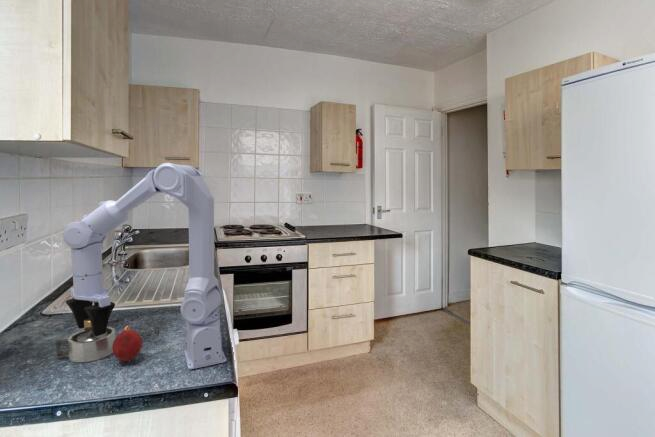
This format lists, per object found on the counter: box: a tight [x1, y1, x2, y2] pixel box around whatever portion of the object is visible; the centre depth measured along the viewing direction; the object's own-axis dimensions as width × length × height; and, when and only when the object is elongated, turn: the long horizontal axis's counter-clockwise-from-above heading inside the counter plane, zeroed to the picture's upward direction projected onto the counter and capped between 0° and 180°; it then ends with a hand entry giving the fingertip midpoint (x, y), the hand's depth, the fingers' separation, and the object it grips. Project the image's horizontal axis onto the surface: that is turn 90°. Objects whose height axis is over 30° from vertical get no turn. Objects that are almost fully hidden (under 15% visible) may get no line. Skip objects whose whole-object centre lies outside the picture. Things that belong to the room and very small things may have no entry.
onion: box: [112, 325, 143, 362], centre depth 79 cm, size 6×6×8 cm
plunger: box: [77, 318, 108, 342], centre depth 82 cm, size 6×6×5 cm
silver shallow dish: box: [55, 326, 117, 364], centre depth 82 cm, size 9×11×4 cm
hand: (91, 330), depth 82 cm, fingers open, 7 cm apart
